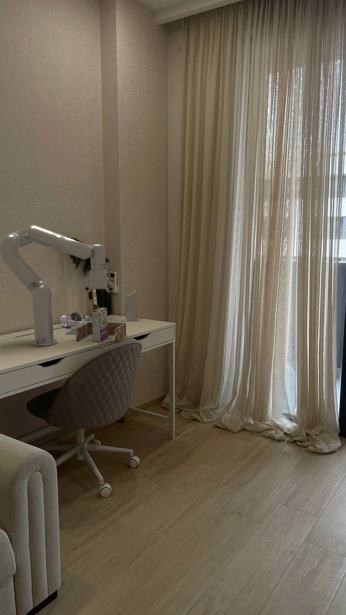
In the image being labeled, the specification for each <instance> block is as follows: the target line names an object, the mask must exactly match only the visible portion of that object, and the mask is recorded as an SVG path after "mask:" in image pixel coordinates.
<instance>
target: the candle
mask: <svg viewBox="0 0 346 615" xmlns="http://www.w3.org/2000/svg"><path fill="white" fill-rule="evenodd" d="M124 308H125V318H120V319H119V318H118V319H116V320H115V321H116V322H137V320H138V316H137V315H138V314H137V291H136V290H133V292H131V293H129V294H126V296H125V300H124Z"/></svg>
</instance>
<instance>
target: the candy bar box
mask: <svg viewBox="0 0 346 615" xmlns="http://www.w3.org/2000/svg"><path fill="white" fill-rule="evenodd" d="M91 317H92V329H93V334H92V341H93V342H103V341H104V340H106V339H107V338H108V337H109V335H108V326H107V322H108V308H106V307H99V308H98V307H97V309H94V310H93V311H91Z"/></svg>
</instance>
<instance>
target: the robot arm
mask: <svg viewBox="0 0 346 615" xmlns="http://www.w3.org/2000/svg"><path fill="white" fill-rule="evenodd" d="M33 243H35V244H37V245H40V246H43V247H46V248H48V249H52V250H54V251H56V252H57V251H58V252H62V253H66V254H68V255H70V256H74V257H77V258H79V259H82V260H87V259H89V258H90V270H89V276H88V281H87V282H85V283H83V284H82V285H83V287H84V289H85V291H86V292H87V293H88V299H89V300H90V301H91V300H93V290H105V291H106V300H110V299H111V292H112V291H113V290H114V288H115V286H116V283H114V282H113V281H110V279H109V272H108V270H107V269H108V268H109V266H108V264H106V250H105V245H104V244H102V243H94V244H93V243H92V244H86V243H83V242H81V241H77V240H75V239H72V238H69V237H68V236H65V235H64V234H61V233H58V232H56V231H52V230H50V229H47V228H44V227H43V226H39V225H36V224H29V225H27V226H26V227H23V228H21V229H18V230H16V231H13V232H10V233H7V234H5V235H4V236H3V237H2V240H1V242H0V257H1V260H2V261H3V263H4V264H5V265H6V266H7V267H8V269H9V270H10V272H12V274H13V275H14V277H15V278H17V279H18V281H19V283H21V285H24V287H25V288H26V289H27V290H28V292H29V293H31V298H32V315H33V329H34V330H33V331H34V332H33V333H34V335H33V336H34V339H32V341H31V345H32V346H34V347H35V346H36V347H47V346H48V347H49V346H53V345H56V344H57V342H58V341H57V339H55V338H54V336H55V334H54V319H53V293H52V292H53V291H52V289H51V287H50V285H49V284H48V283H47V282H46V281H45V279H44V278H43V277H42V276H41V275H40V274H39V273H38V271H37V270H36V269H35V268H34V267H32V266H31V265H30V264H29V263H28V262H27V261H26V260H25V259H24V258H23V257H22V255H21V254H20V252H19V249H20V248H23V247H26V246H28V245H30V244H33ZM88 286H89V287H88Z"/></svg>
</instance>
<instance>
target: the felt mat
mask: <svg viewBox="0 0 346 615" xmlns="http://www.w3.org/2000/svg"><path fill="white" fill-rule="evenodd" d="M65 335H75V336H76V328H74V329H71V330H69V331H68V332H66V333H65Z"/></svg>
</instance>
